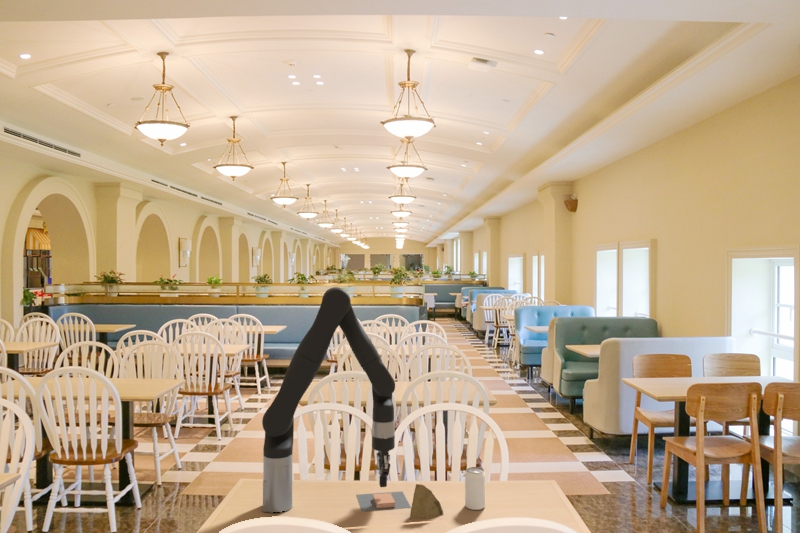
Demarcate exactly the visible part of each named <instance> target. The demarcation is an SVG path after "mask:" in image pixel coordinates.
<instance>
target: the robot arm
mask: <svg viewBox="0 0 800 533" xmlns="http://www.w3.org/2000/svg"><path fill="white" fill-rule="evenodd" d="M351 302H352V301H351V297H350V295H349V293H348V292H347V291H346V290H345V289H344V288H341V287H336V286H335V287H330V288H329V289H327V290H326V291H325V292H324V293H323V296H322V298H321V302H320V303H321V304H320V307H319V309H318V312H317V314H316V317H315V319H314V321H313V323H312V325H311V327H310V328H309V330H308V331H307V332H306V334H305V335H304V336H303V338H302V340H301V342H300V343H299V344H298V346H297V348H296V350H295V352H294V354H293V355H292V358H291V360H290V363H288V364H289V365H288V367H287V370H286V372H285V375H284V377H283V381H282V383H281V386H280V388H279V391H278V393H277V394H276V396H275V398H274V399H273V400H272V403H271V404H270V406H269V407H268V408H267V409H266V411H265V412H264V414H263V416H262V420H261V421H262V422H261V423H262V428H263V430H264V442H263V443H264V444H263V451H262V452H263V456H262V457H263V461H262V462H263V466H262V467H263V468H262V469H263V472H262V473H263V475H262V477H263V478H262V512H263V513H270V514H271V513H272V514H274V513H273V512H280V513H282V512H281V511H285V512H287V511H289V510H291V509H293V450H294V428H295V427H294V426H295V424H294V423H295V420H294V419H295V418H294V416H295V413H296V411H297V408H298V405H299V403H300V402H301V399H302V398H303V396H304V394H305V393H306V392H307V390H308V389H309V387H310V385H311V383H312V382H313V380H314V379H315V377H316V375H317V374H318V371H320V368H321V366H322V364H323V362H324V359H325V357H326V355H327V352H328V349H329V347H330V344H331V342H332V339H333V336H334V334H335V333H336V330H337V329H338V327H339V328H340V329H341V331H342V332H343V334H344V337H345V338H346V340H347V342H348V345H349V348H350V349H351V351H352V353H353V355H354V357H355V359H356V360H357V363H358V364H359V365H360V367H361V369H362V370H363V371H364V372H365V374H366V375H367V377H368V380H369V382H370V384H371V394H372V403H373V404H372V423H371V425H372V426H371V447H372V448H371V449H373V450H374V451H377V452H376V456H375V457H376V461H377V462H376V463H377V464H376V466H377V471H378V474H379V481H378V482H379V486H380V488H386V487H387V486H388V483H387V480H388V478H387V477H388V476H389V474H390V468H391V464H390V463H391V462H390V461H391V454H389V452H390V451H392V450H394V449H395V445H396V442H395V438H396V434H395V432H396V431H395V430H396V427H395V425H396V424H395V406H394V403H393V393H394V392H395V390H396V382H395V379H394V378H393V376H392V375H391V373H390V372H389V370H388V369H387V367H386V366H385V363H383V359H382V358H381V356H380V354H379V351H378V350H377V349H376V347H375V345H374V344H373V341H372V340H371V338H370V337H369V336H368V334H367V333H366V331H365V330H364V328H363V327H362V324H360V322H359V319H358V317H357V316H356V313H355V311H354V308H353V306H352V303H351Z"/></svg>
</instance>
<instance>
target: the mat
mask: <svg viewBox="0 0 800 533" xmlns="http://www.w3.org/2000/svg"><path fill="white" fill-rule="evenodd" d="M383 493H384V492H375V493H362V494H361V493H360V494H356V495H355V496H356V498H357V501H358V506H359V508H360V511H361V512H363V513H365V512H376V511H387V510H388V511H389V510H398V509H399V510H400V509H401V510H402V509H411V507H412V506H411V505H410V503H409V501H408V499H407V497H406V495H405V494H404V492H403V491H389V492H386V493H391V495H392V497H393V499H394V501H395V507H389V508H376V505H375V503H374V500H373V494H383Z"/></svg>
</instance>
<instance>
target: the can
mask: <svg viewBox="0 0 800 533" xmlns="http://www.w3.org/2000/svg"><path fill="white" fill-rule="evenodd" d="M464 474H465V476H464V477H465V478H464V479H465V480H464V483H465V484H464V506H465V507H466V508H467V509H468V510H472V511H481V510H483V509H485V507H486V474H485V470H484V468H483V467H478V466H470V467H469V466H468V467H466V472H465V473H464Z"/></svg>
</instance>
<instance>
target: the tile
mask: <svg viewBox="0 0 800 533" xmlns="http://www.w3.org/2000/svg"><path fill="white" fill-rule="evenodd" d="M382 493H383V494H373V493H372V494H373V500H374V503H375V505H376V508H389V507H395V501H394V499H393V497H392V495H391V493H387V492H382Z"/></svg>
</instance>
